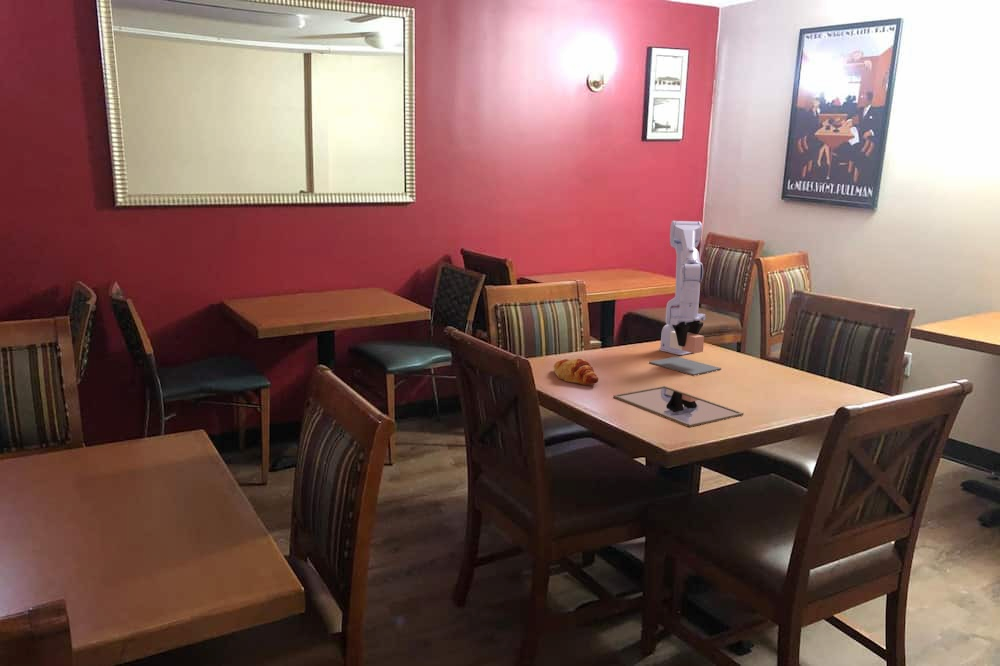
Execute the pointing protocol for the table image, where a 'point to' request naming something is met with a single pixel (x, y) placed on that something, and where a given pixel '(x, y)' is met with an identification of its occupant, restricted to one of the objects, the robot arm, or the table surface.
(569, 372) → the croissant
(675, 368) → the mat
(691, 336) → the two-tone block
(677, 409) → the picture frame
